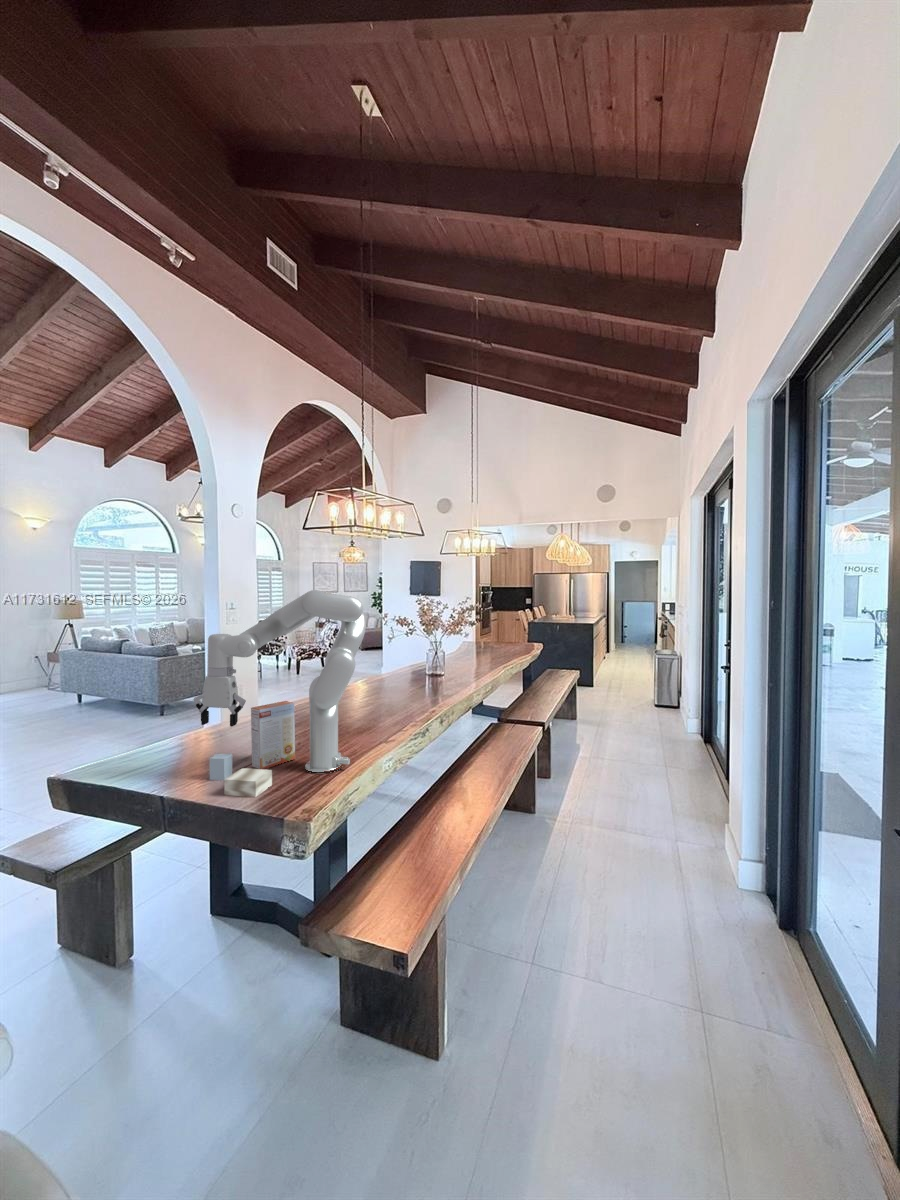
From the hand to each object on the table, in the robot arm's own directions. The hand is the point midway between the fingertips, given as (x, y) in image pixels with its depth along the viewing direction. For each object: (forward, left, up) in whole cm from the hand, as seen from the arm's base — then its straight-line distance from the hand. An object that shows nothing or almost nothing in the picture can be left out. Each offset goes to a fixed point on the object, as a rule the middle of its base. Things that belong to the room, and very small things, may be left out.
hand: (219, 724), depth 174 cm
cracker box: (-11, -15, -18) cm, 26 cm away
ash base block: (-14, +9, -18) cm, 24 cm away
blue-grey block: (0, 0, -17) cm, 17 cm away
